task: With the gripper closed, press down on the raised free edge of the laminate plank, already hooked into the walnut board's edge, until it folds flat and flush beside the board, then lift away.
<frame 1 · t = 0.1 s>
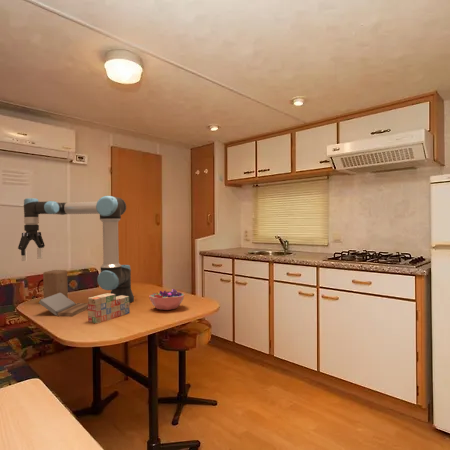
hand: (32, 259, 196), 28 cm above the table, fingers open, 13 cm apart
stack of blocks: (109, 317, 170), on the table
cell model: (167, 309, 185), on the table
plank: (58, 303, 183), point 4 cm above the table, hinge at 35.0°
wooden block: (56, 303, 203), on the table
installed board: (75, 311, 182), on the table
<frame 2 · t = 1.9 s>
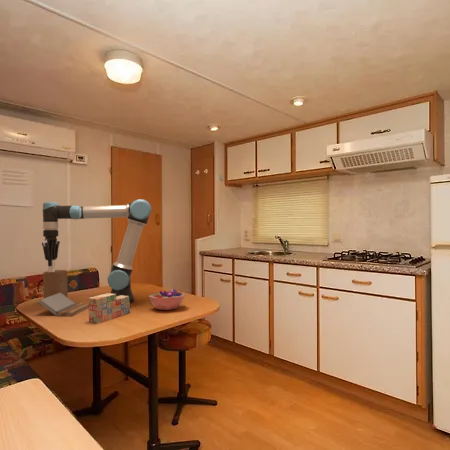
hand: (51, 271, 184), 22 cm above the table, fingers closed
nothing on the table moved.
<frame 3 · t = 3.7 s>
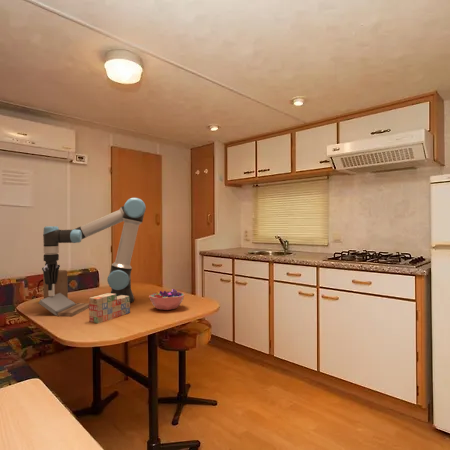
hand: (51, 295, 184), 9 cm above the table, fingers closed
plank: (58, 303, 183), point 4 cm above the table, hinge at 34.1°, touching gripper
everything else where it was.
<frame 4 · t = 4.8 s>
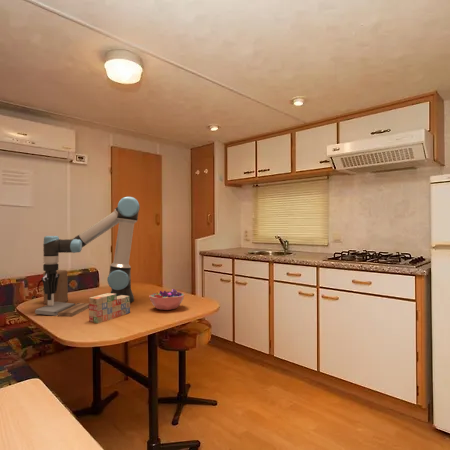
hand: (50, 305, 184), 3 cm above the table, fingers closed
plank: (55, 308, 183), point 2 cm above the table, hinge at 5.5°, touching gripper
everything else where it was.
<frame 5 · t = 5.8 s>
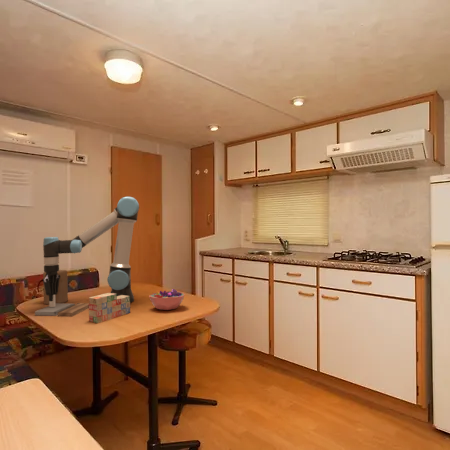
hand: (52, 306, 184), 3 cm above the table, fingers closed
plank: (55, 309, 183), point 1 cm above the table, hinge at 0.9°
everything else where it was.
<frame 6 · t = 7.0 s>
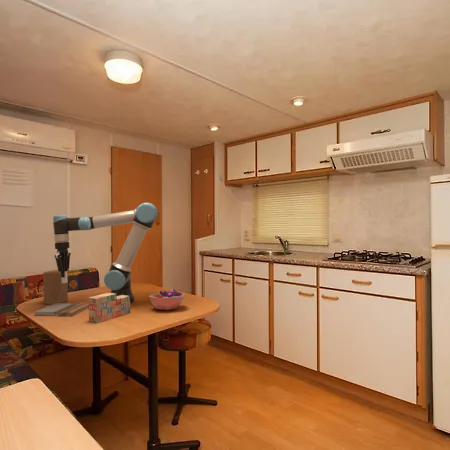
hand: (64, 282, 188), 15 cm above the table, fingers closed
nothing on the table moved.
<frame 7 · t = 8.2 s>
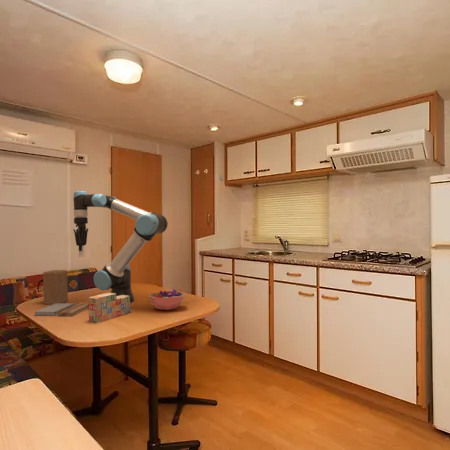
hand: (81, 256, 196), 29 cm above the table, fingers closed
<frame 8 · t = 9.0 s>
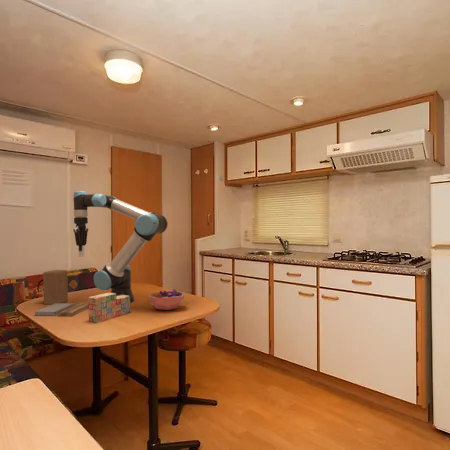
hand: (81, 256, 196), 29 cm above the table, fingers closed
at the end: plank at +1° (first picture: +35°) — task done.
